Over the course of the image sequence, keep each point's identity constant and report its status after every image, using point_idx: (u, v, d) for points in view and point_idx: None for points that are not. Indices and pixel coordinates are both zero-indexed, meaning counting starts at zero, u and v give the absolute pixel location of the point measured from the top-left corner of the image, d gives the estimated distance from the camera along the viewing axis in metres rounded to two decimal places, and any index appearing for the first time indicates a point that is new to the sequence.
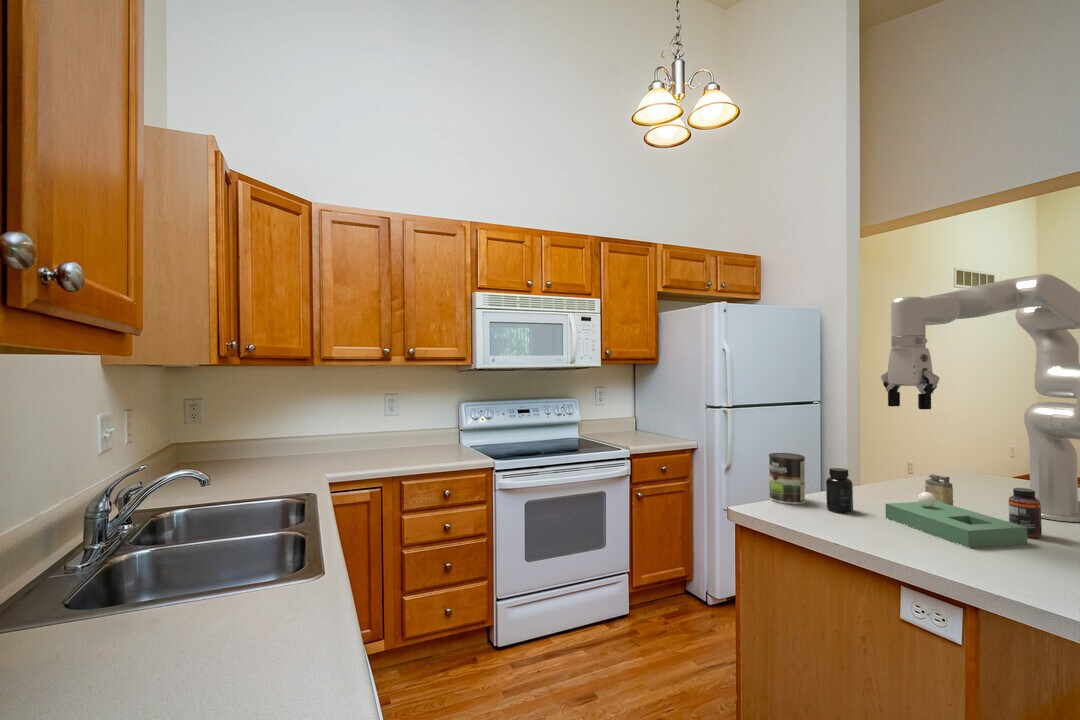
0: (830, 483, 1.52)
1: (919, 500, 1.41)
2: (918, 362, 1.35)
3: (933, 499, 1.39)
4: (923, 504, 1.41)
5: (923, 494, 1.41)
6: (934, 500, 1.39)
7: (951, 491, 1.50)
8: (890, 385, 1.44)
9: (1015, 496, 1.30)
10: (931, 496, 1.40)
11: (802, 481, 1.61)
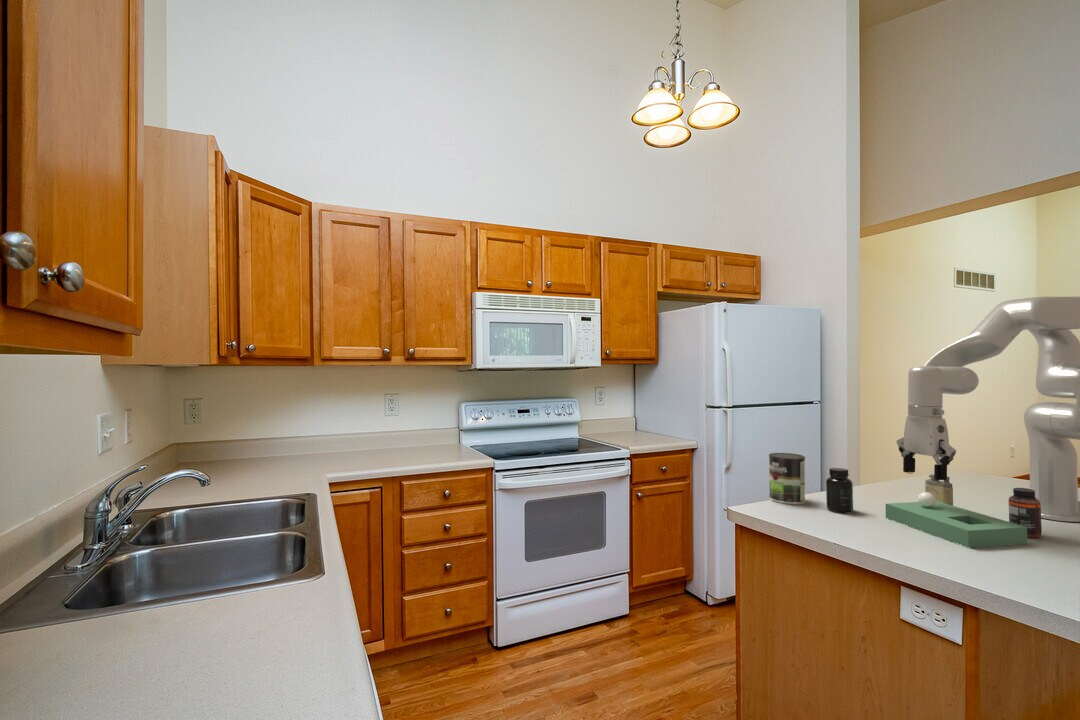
0: (830, 483, 1.52)
1: (919, 500, 1.41)
2: (935, 433, 1.36)
3: (933, 499, 1.39)
4: (923, 504, 1.41)
5: (923, 494, 1.41)
6: (934, 500, 1.39)
7: (951, 491, 1.50)
8: (906, 451, 1.45)
9: (1015, 496, 1.30)
10: (931, 496, 1.40)
11: (802, 481, 1.61)
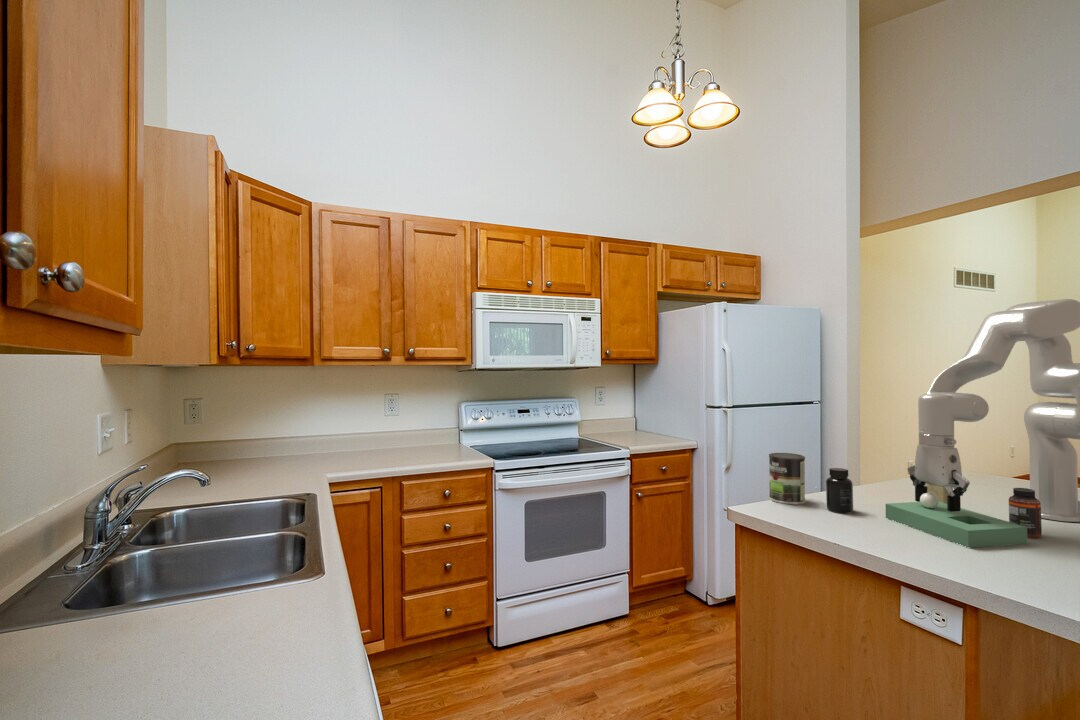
0: (830, 483, 1.52)
1: (921, 500, 1.40)
2: (947, 463, 1.33)
3: (936, 502, 1.38)
4: (924, 505, 1.40)
5: (927, 496, 1.39)
6: (937, 503, 1.39)
7: None
8: (917, 480, 1.42)
9: (1015, 496, 1.30)
10: (935, 499, 1.39)
11: (802, 481, 1.61)
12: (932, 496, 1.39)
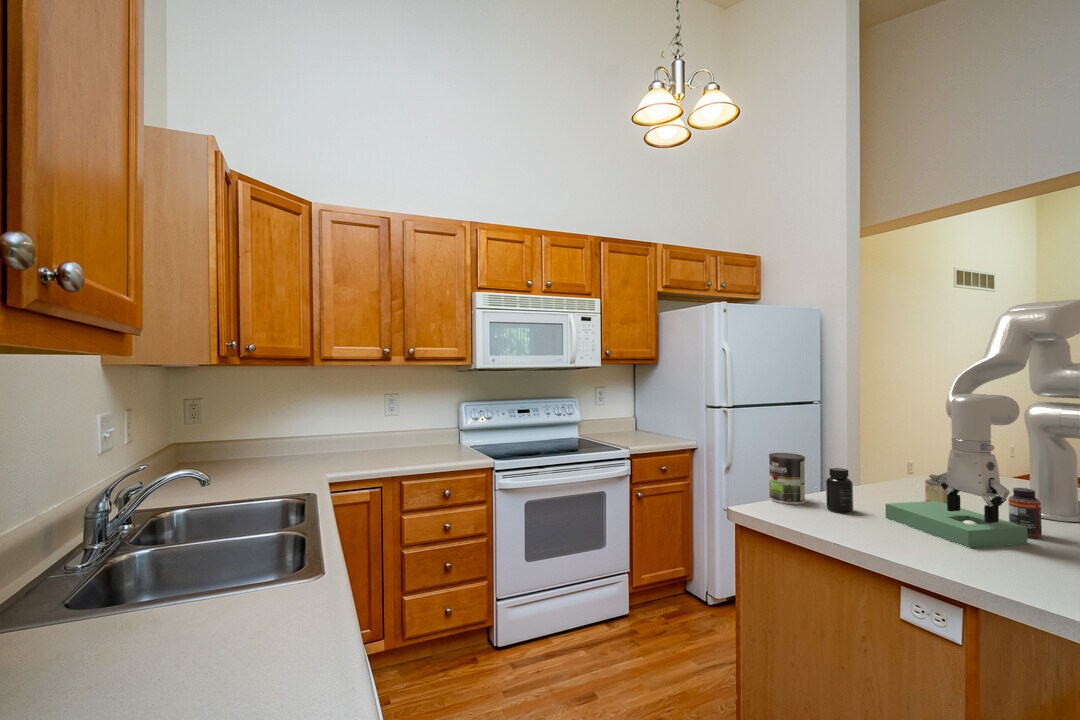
0: (830, 483, 1.52)
1: None
2: (984, 471, 1.24)
3: None
4: None
5: None
6: None
7: None
8: (950, 488, 1.33)
9: (1015, 496, 1.30)
10: None
11: (802, 481, 1.61)
12: None
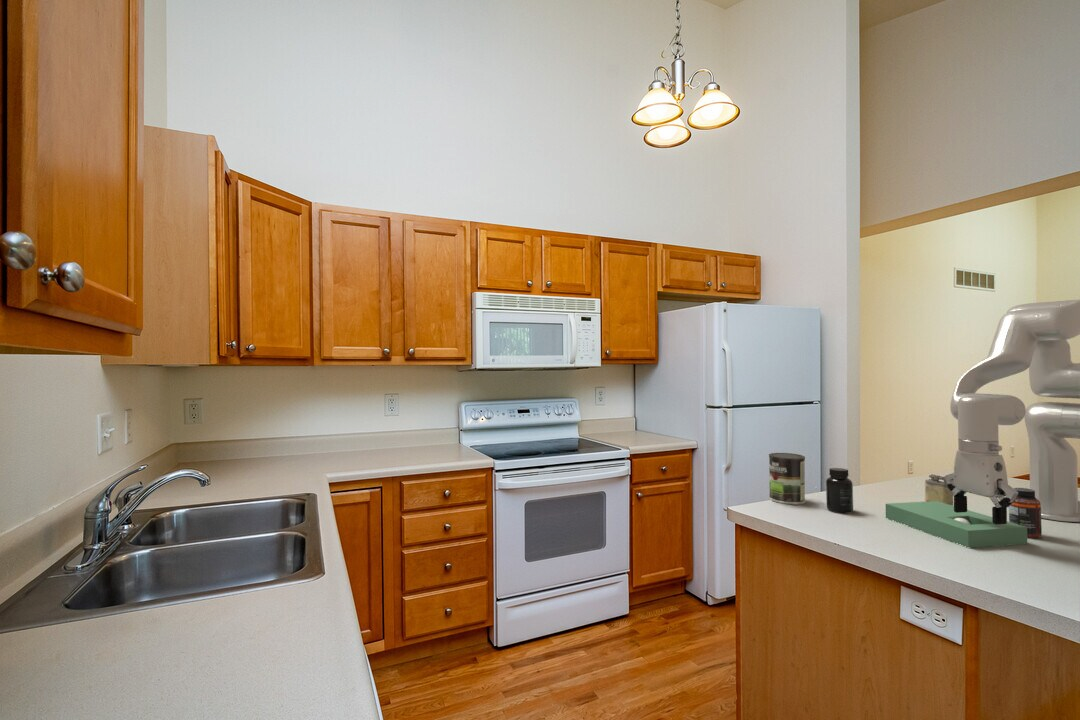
0: (830, 483, 1.52)
1: None
2: (992, 472, 1.22)
3: (968, 523, 1.29)
4: None
5: (956, 519, 1.30)
6: None
7: None
8: (957, 489, 1.31)
9: None
10: (965, 520, 1.29)
11: (802, 481, 1.61)
12: (961, 518, 1.30)
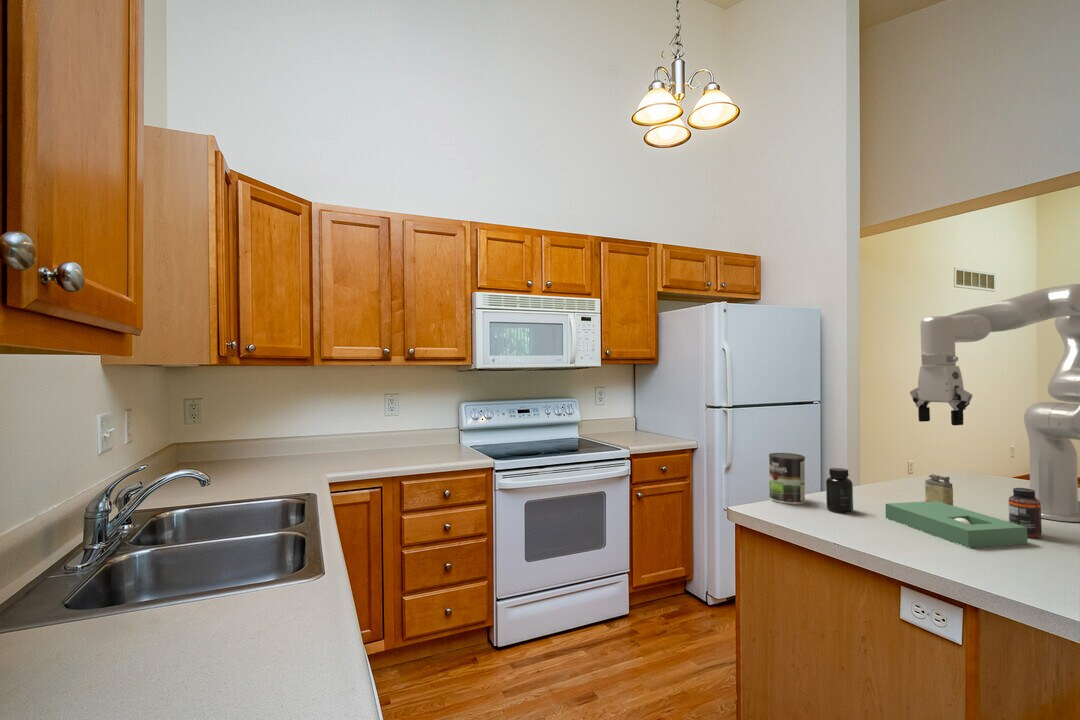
0: (830, 483, 1.52)
1: None
2: (950, 380, 1.40)
3: (968, 523, 1.29)
4: None
5: (957, 519, 1.30)
6: (970, 524, 1.29)
7: (951, 491, 1.50)
8: (921, 401, 1.49)
9: (1015, 496, 1.30)
10: (965, 520, 1.29)
11: (802, 481, 1.61)
12: (961, 518, 1.30)
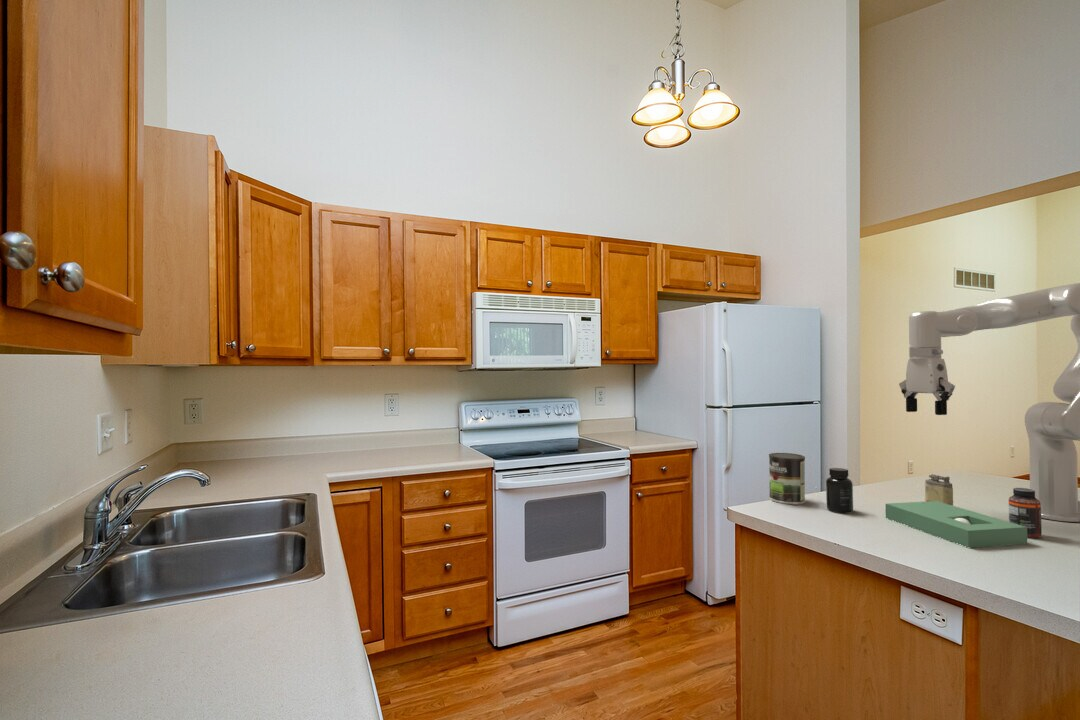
0: (830, 483, 1.52)
1: None
2: (935, 371, 1.47)
3: (968, 523, 1.29)
4: None
5: (957, 519, 1.30)
6: (970, 524, 1.29)
7: (951, 491, 1.50)
8: (908, 392, 1.56)
9: (1015, 496, 1.30)
10: (966, 521, 1.29)
11: (802, 481, 1.61)
12: (961, 518, 1.30)
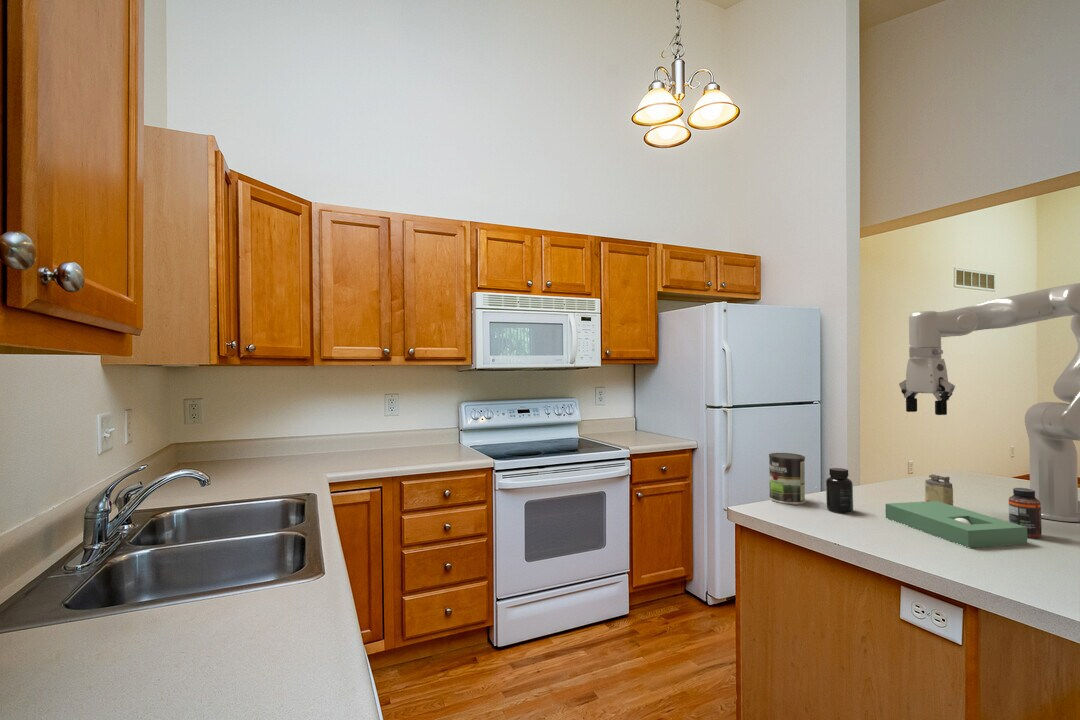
0: (830, 483, 1.52)
1: None
2: (935, 371, 1.47)
3: (969, 523, 1.29)
4: None
5: (957, 519, 1.30)
6: (970, 524, 1.29)
7: (951, 491, 1.50)
8: (908, 392, 1.56)
9: (1015, 496, 1.30)
10: (966, 521, 1.29)
11: (802, 481, 1.61)
12: (961, 518, 1.30)
